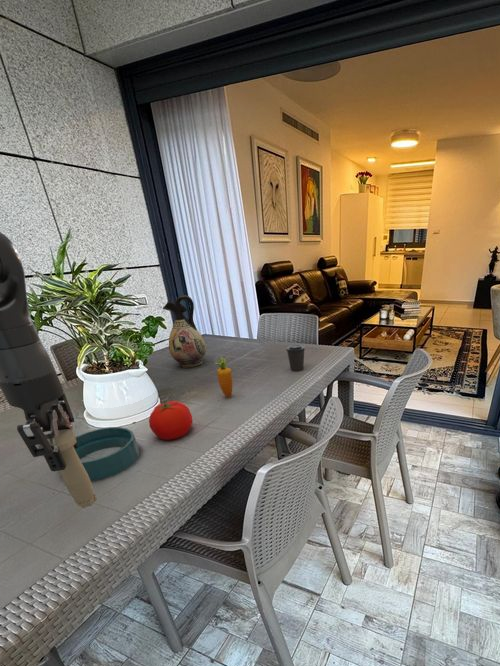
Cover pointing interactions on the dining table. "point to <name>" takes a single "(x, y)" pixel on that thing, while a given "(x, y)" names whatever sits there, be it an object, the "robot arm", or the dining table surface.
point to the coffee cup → (296, 357)
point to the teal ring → (105, 440)
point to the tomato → (170, 420)
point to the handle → (74, 470)
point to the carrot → (225, 378)
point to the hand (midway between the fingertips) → (66, 458)
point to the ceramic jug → (185, 335)
